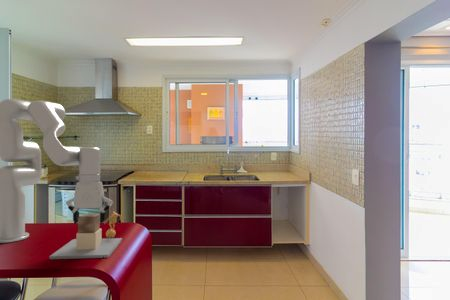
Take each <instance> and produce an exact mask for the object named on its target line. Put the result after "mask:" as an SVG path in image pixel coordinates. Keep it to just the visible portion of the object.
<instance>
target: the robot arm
mask: <svg viewBox="0 0 450 300" xmlns="http://www.w3.org/2000/svg"><path fill="white" fill-rule="evenodd" d="M65 118H66V110H65V108H64V107H63V106H62V105H61V104H60V103H57V102H52V101H48V100H41V99H40V100H33V101H27V100H23V99H16V98H8V99H3V100H1V101H0V159H1V161H2V162H5V163H23V164H18V165H17V164H15V165H13V164H12V165H4V166H1V167H0V244H2V243H3V244H4V243H5V244H6V243H13V242H14V243H15V242H19V241H22V240H25V239H27V238H29V237H30V233H29V232H26V195H25V193H24V191H23V190H22V188H21V187H26V186H27V187H28V186H29V187H30V186H33V185H37V184H38V183H39V182H40V181H41V178H42V150H41V147H40V146H39V144H38V143H37V142H35V141H31V140H24V130H23V127H22V126H21V124H20V123H19V120H20V121H27V122H34V123H35V124H36V125H37V128H39V129H40V131H41V132H42V133H43V138H42V147H43V150H44V152H45V154H46V155H47V156H48V158H49V159H50V160H51V162H52V163H54V164H55V165H56V166H61V167H68V166H69V167H70V166H78V175H75V180H78V182H76V185H75V190H74V197H73V198H70V199H68V200H66V201H65V204H66V206H67V209H68V210H69V211H71V213H72V221H73V223H74V225H75V224H78V217H80V211H79V210H81V209H85V210H88V209H89V210H90V209H94V210H95V209H98V210H99V211H100V213H99V214H100V224H104V223H105V221H106V220H107V218H106V217H107V216H106V215H107V214H106V213H107V211H108V210H109V209H110V208H111V206H112V205H113V204H114V200H112V199H111V198H108V197H106V196H105V192H104V186H103V182H102V181H101V155H102V154H101V153H102V152H101V149H100V148H99V147H96V146H69V145H65V146H64V145H63V144H62V143H61V142H60V141H59V139H58V137H60V136H62V135H63V134H64V133H65V131H66V124H65V123H64V119H65ZM105 202H106V203H107V205H106V206H105Z"/></svg>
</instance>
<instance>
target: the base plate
mask: <svg viewBox="0 0 450 300" xmlns="http://www.w3.org/2000/svg"><path fill="white" fill-rule="evenodd" d="M102 231H103V230H102V227H101V228H100V229H99V230H98V231H96V232H95V233H78V232H77V233H76V234H75V235H76V236H75V237H76V238H74V239H71V240H70V241H69V242H67V243H66V244H64V245H63V246H62V247H60V248H59V249H58V250H56V251H55V252H53V253H52V254H51V255H49V260H68V259H72V260H73V259H100V258H101V259H103V257H104V259H105V258H109V257H110V256H111V255H112V253H113V252H114V251H115V250H116V249H117V248H118V246H119V245H120V244H121V242H122V241H123V238H122V237H120V238H119V237H116V238H115V237H113V238H107V237H106V238H105V237H104V238H102V235H103V234H102V233H103V232H102Z"/></svg>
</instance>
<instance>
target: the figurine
mask: <svg viewBox="0 0 450 300" xmlns="http://www.w3.org/2000/svg"><path fill="white" fill-rule="evenodd" d="M118 217H119V219H118V220H119V221H122V215H121V214H118V213H117V212H115V211H114V210H113V211H112V213H111V216H109V217H108V218H106V220H105V221H104V222H103V224H104V225H105V224H106V223H107V222H108V221H109V220H110V219H111V220H110V222H109V223H108V225H109V227H110V228H108V230H107V231H106V232H105V236H106V238H115V236H116V233H117V232H116V230H115V226H116V225H115V223H116V222H117V218H118Z"/></svg>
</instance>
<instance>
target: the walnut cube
mask: <svg viewBox="0 0 450 300" xmlns="http://www.w3.org/2000/svg"><path fill="white" fill-rule="evenodd" d="M100 224H101V223H100V213H84V214H82V215H79V217H78V223H77V233H95V232H96V231H98V230H99V229H100V226H101V225H100Z"/></svg>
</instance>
